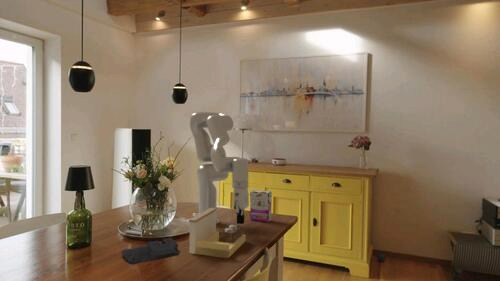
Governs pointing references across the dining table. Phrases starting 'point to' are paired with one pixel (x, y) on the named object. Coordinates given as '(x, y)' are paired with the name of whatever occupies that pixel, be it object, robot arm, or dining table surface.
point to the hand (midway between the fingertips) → (240, 223)
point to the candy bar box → (260, 205)
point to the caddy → (230, 233)
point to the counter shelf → (210, 236)
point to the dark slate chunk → (151, 251)
